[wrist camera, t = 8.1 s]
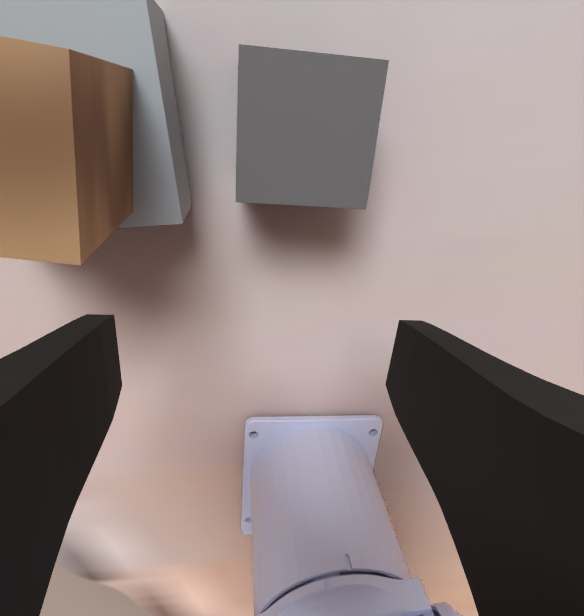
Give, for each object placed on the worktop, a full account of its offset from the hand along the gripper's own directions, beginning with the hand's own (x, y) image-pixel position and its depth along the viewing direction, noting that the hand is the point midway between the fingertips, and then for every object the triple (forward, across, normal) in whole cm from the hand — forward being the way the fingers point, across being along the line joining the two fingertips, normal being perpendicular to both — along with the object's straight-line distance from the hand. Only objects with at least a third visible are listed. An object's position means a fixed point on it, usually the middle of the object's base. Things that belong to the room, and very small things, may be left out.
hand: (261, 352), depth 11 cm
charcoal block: (+10, -2, -5) cm, 11 cm away
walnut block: (+6, +6, -4) cm, 10 cm away
